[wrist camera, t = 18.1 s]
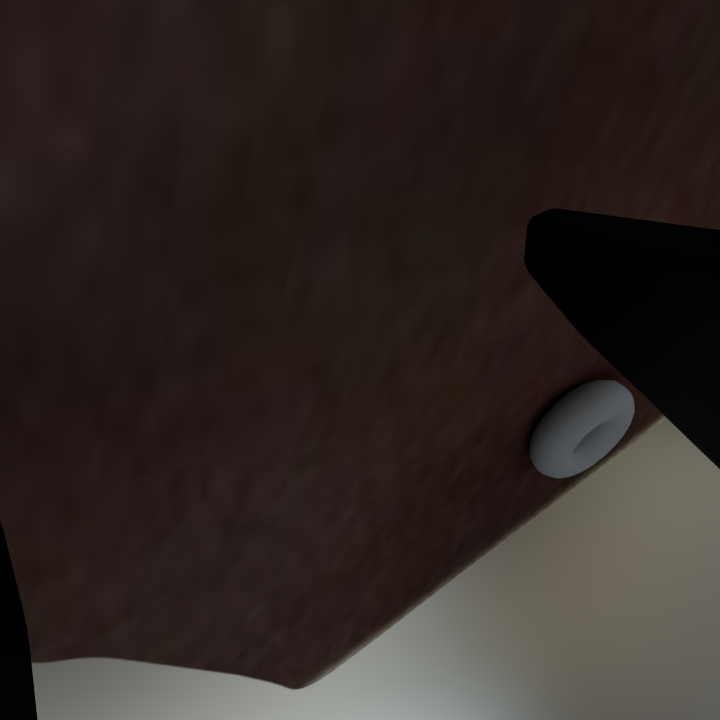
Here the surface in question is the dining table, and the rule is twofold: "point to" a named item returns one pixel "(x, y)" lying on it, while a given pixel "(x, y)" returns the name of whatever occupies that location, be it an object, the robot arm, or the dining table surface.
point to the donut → (581, 428)
